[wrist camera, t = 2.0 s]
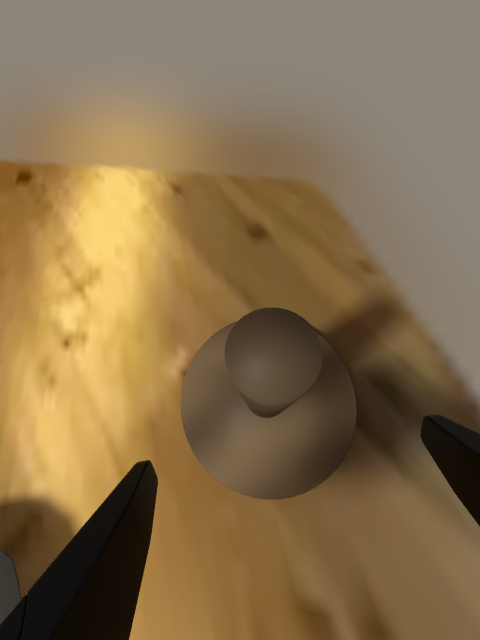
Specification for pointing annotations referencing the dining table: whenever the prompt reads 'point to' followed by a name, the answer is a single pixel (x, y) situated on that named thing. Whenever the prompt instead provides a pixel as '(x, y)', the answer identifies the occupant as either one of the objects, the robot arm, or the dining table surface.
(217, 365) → the brown peg on base
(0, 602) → the bowl
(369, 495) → the dining table surface
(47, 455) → the dining table surface
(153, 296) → the dining table surface
